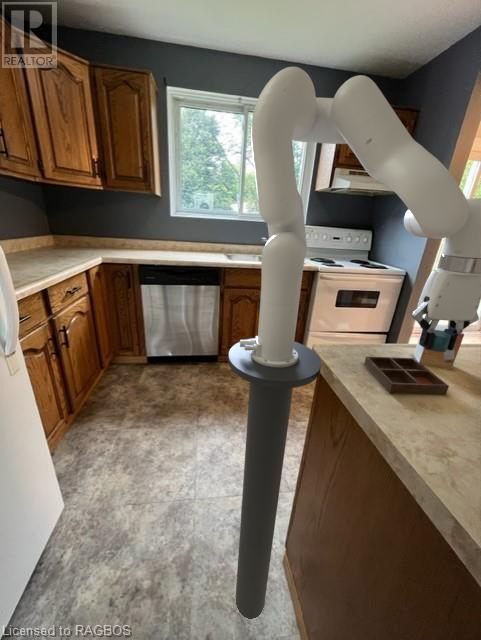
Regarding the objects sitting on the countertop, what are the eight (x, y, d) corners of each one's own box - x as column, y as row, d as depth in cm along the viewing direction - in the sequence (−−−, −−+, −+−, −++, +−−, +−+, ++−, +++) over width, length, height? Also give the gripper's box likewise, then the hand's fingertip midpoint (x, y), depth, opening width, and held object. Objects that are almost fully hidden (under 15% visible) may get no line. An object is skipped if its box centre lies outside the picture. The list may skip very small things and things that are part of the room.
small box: (418, 364, 75) (429, 329, 71) (413, 355, 80) (423, 322, 76) (452, 370, 72) (465, 334, 69) (444, 360, 78) (456, 326, 74)
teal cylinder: (432, 352, 59) (437, 336, 58) (420, 343, 63) (424, 329, 62) (451, 352, 59) (456, 337, 58) (437, 344, 63) (442, 329, 62)
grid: (389, 393, 61) (392, 384, 60) (364, 364, 73) (365, 356, 72) (445, 395, 61) (449, 385, 60) (411, 366, 74) (413, 358, 73)
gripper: (485, 264, 58) (458, 341, 65) (408, 261, 58) (389, 339, 64) (519, 270, 51) (486, 356, 58) (432, 267, 51) (408, 354, 57)
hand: (435, 346), depth 61 cm, fingers closed on teal cylinder, 4 cm apart
